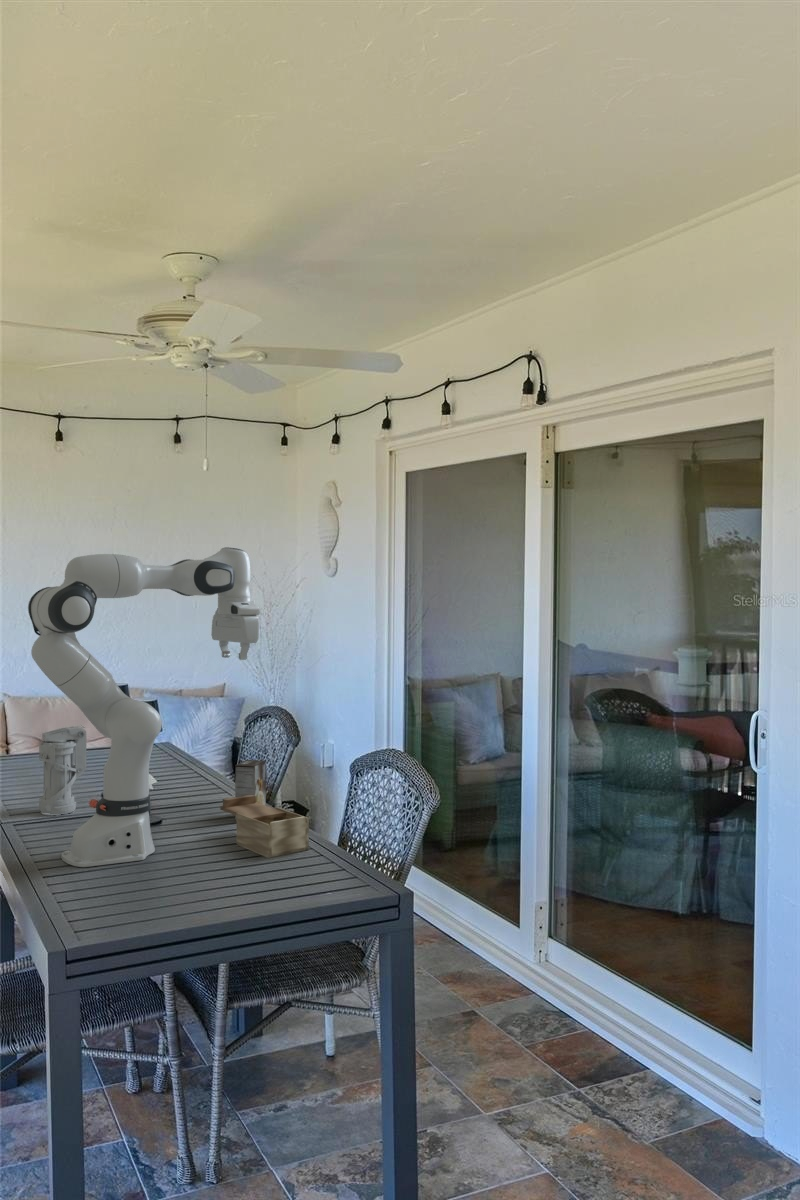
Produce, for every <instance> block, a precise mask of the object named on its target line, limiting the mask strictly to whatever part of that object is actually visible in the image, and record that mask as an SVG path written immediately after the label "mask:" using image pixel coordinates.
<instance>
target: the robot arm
mask: <svg viewBox="0 0 800 1200" xmlns="http://www.w3.org/2000/svg"><path fill="white" fill-rule="evenodd" d="M250 561H251V560H250V557H249V554H248V553H247V551H245V550H243V549H240V548H235V547H229V546H228V547H222V548H220V550H219V551H217V552H216V553H214V554H212V555H211V556H208V557H206V558H203V559H190V558H189V559H188V558H186V559H182V560H180V561H177V562H175V563H173V564H171V565H170V564H169V565H155V564H154V565H151V564H150V565H149V564H143V562H142V561H141V559H139V558H137V557H136V556H135V557H134V556H130V555H126V554H125V555H124V554H116V553H115V554H114V553H97V554H88V555H81V556H77V557H74V558H72V559H71V560H69V561H68V563H67V564H66V567H65V569H64V580H63V582H62V584H60V585H59V586H47V587H43V588H41V589H39V590H37V591H36V592H35V593H34V594H32V596H31V598H30V599H29V601H28V606H27V611H28V615H29V619H30V621H31V624H32V628H33V631H34V633H35V634H36V635H37V636H38V637H37V638H36V640H35V641H34V642H33V644H32V647H31V649H30V650H31V652H30V653H31V657H32V659H33V661H34V662H35V664H36V666H38V668H39V669H40V671H42V673H43V674H44V675H45V676H46V678H48V680H49V681H50V682H52V683H53V684H54V686H56V687H57V689H59V690H60V691H61V692H62V694H64V695H65V696H66V697H67V698H68V699H69V700H70V701H71V702H72V703H74V704H75V705H76V706H77V708H78V709H80V711H81V712H82V713H83V715H84V716H85V717H86V718H87V720H88V721H89V722H90V723H91V724H92V725H93V726H94V727H95V729H96V730H97V731H98V732H99V733H100V734H101V735H103V736H104V737H106V738H107V739H110V743H111V745H110V750H109V753H108V754H109V755H108V757H107V760H106V762H105V763H104V766H103V767H102V768H103V769H102V771H103V772H102V773H103V777H102V778H103V779H102V780H103V781H102V782H103V783H102V784H103V787H102V788H103V789H102V791H103V792H102V794H103V795H102V797H101V799H99V800H97V799H95V798H92V799H90V800H89V801H88V806H89V807H91V808H93V809H95V814H94V815H92V816H91V817H90V818H89V819H88V820H87V821H85V822H84V823H83V824H82V825H81V826H79V827H78V828H77V829H76V830H75V831H74V832H73V835H72V839H71V845H70V849H68V850H65V851H63V852H62V853H61V857H60V858H61V859H62V861H63V862H64V863H66V864H68V865H69V866H73V867H79V868H88V867H90V868H91V867H95V866H105V865H113V864H120V863H121V864H122V863H129V862H137V861H143V860H145V859H146V858H147V857H148V856H150V855H151V854H153V853H155V851H156V847H155V844H154V842H153V836H152V831H151V830H152V829H151V821H150V816H151V808H152V807H151V804H152V803H151V795H150V794H149V789H150V787H149V786H150V785H149V783H150V781H149V779H150V773H149V772H150V761H151V756H152V751H153V747H154V743H155V740H156V739H157V737H158V736H159V734H160V733H161V730H162V726H163V724H162V722H163V721H162V718H161V715H160V713H159V711H158V710H156V708H154V706H152V705H151V704H149V703H148V702H145V701H142V700H137V699H133V698H131V696H128V695H127V694H126V693H124V691H122V689H121V688H120V687H119V685H118V684H117V682H116V681H115V680H114V678H113V675H112V673H111V672H110V671H108V669H107V668H105V666H104V665H102V663H100V661H99V660H97V659H96V657H94V656H93V655H92V654H91V653H90V651H88V650H87V649H86V648H85V647H84V646H83V645H81V643H80V641H79V640H78V637H76V633H78V632H80V631H81V630H84V629H85V628H87V627H88V625H90V624H91V622H92V620H93V617H94V613H95V610H96V609H95V607H96V603H97V601H98V599H122V598H129V597H130V598H131V597H134V596H138V595H139V594H140V593H141V592H142V591H143V590H149V589H150V590H156V589H157V590H171V591H172V592H175V593H177V594H179V595H182V596H185V597H190V596H191V597H194V596H202V597H203V596H213V595H217V609H216V610H215V612H214V615H212V621H211V639H212V640H213V641H218V642H219V643H218V645H219V648H220V650H221V657H222V658H224V659H225V658H230V657H231V655H230V654H231V651H230V650H229V646H228V645H229V642H230V643H239V646H240V652H239V653H238V660H239V661H240V660H241V661H244V660H245V661H246V660H247V659H248V652H249V650H250V648H251V647H250V644H256V643H257V642H258V640H259V638H260V618H259V615H261V614H260V613H261V608H260V607H259V606H258V605H257V604H256V603H255V602H253V601H252V596H251V592H250V585H251V582H252V581H251V580H252V576H251V575H252V573H251V562H250Z"/></svg>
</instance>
